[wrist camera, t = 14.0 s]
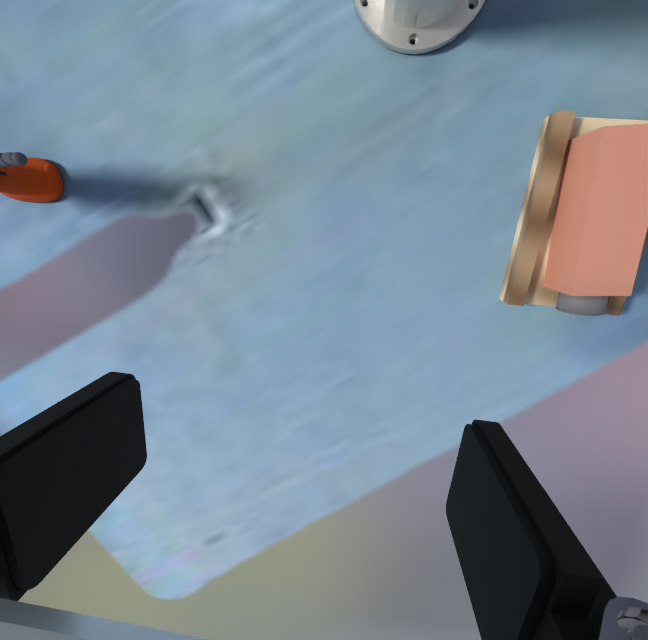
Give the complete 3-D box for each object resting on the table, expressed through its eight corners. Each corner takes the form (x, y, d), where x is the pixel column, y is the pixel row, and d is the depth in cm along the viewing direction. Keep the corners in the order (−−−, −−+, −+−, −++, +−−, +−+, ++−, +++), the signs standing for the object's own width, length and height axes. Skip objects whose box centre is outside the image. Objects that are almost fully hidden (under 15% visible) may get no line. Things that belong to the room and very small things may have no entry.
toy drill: (146, 201, 37) (-13, 189, 23) (20, 203, 41) (-178, 193, 27) (139, 154, 35) (-35, 110, 21) (10, 160, 40) (-206, 127, 26)
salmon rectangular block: (566, 141, 31) (603, 126, 26) (624, 137, 30) (673, 121, 26) (540, 304, 36) (567, 316, 31) (590, 304, 35) (625, 316, 30)
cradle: (543, 118, 32) (558, 110, 29) (666, 125, 31) (692, 117, 28) (499, 299, 37) (508, 304, 34) (602, 309, 36) (619, 315, 33)
